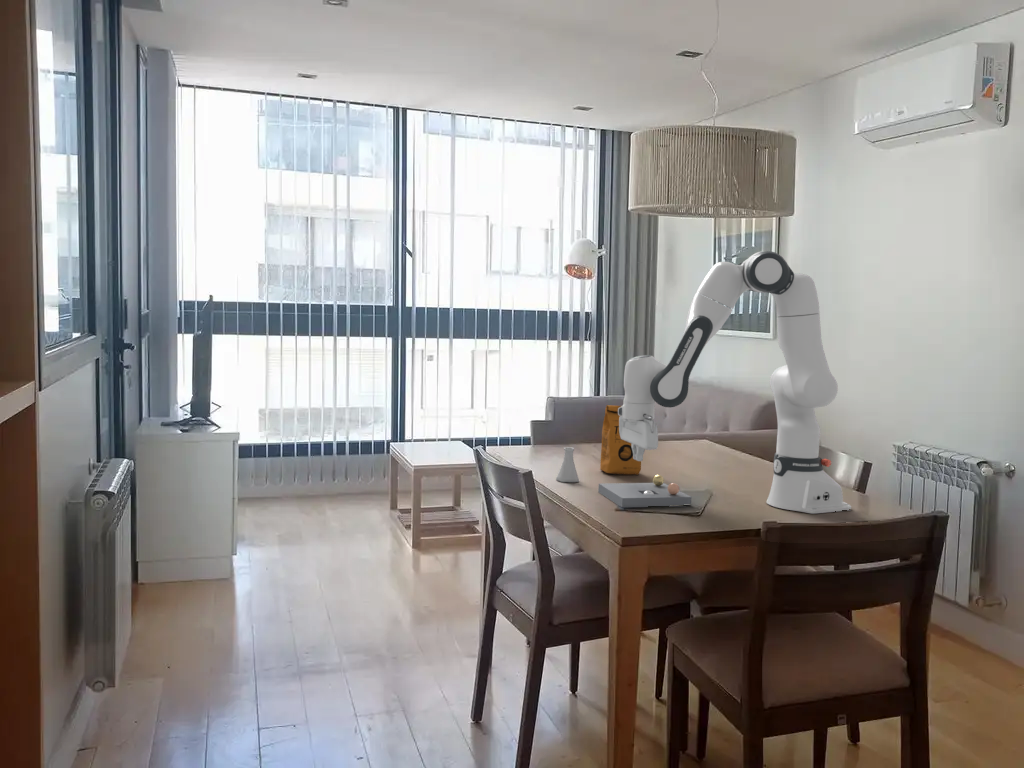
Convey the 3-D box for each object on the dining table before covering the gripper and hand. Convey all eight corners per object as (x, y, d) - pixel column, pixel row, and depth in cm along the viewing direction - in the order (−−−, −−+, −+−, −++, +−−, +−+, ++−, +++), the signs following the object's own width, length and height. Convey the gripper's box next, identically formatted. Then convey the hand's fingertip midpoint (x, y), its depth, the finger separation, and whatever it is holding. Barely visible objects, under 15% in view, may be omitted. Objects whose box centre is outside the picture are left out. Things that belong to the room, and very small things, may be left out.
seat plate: (662, 491, 242) (663, 482, 241) (690, 506, 224) (691, 496, 224) (598, 492, 237) (598, 483, 236) (621, 507, 219) (622, 498, 219)
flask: (559, 483, 247) (561, 450, 246) (552, 478, 254) (554, 446, 253) (582, 483, 249) (584, 450, 248) (574, 478, 256) (576, 445, 255)
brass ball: (660, 484, 239) (661, 473, 238) (665, 487, 236) (666, 475, 235) (650, 484, 238) (651, 473, 238) (655, 487, 235) (655, 476, 234)
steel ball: (651, 502, 228) (650, 491, 229) (656, 501, 225) (655, 489, 226) (641, 503, 227) (640, 491, 228) (646, 501, 225) (645, 489, 225)
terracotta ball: (675, 493, 228) (676, 481, 228) (681, 495, 225) (681, 484, 225) (665, 493, 227) (665, 481, 227) (670, 496, 224) (670, 484, 224)
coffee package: (643, 476, 262) (647, 407, 260) (604, 476, 260) (608, 406, 258) (634, 470, 272) (638, 403, 270) (597, 469, 270) (601, 402, 268)
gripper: (664, 416, 226) (663, 466, 227) (635, 407, 246) (634, 453, 247) (642, 417, 225) (641, 467, 226) (615, 408, 244) (614, 454, 246)
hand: (637, 460), depth 237 cm, fingers closed
